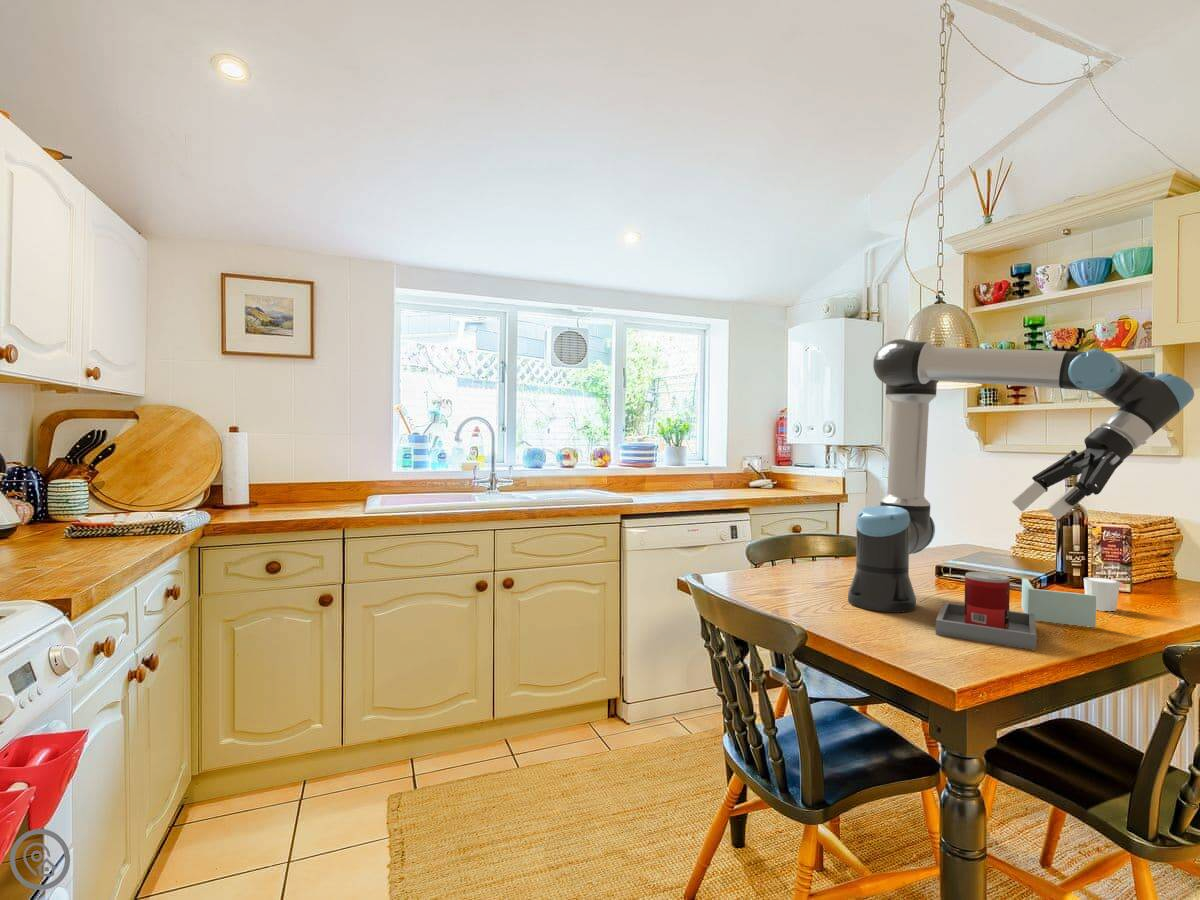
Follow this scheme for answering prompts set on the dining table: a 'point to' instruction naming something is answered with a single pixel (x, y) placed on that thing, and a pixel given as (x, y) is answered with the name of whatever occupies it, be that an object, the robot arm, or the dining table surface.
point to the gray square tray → (987, 628)
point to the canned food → (987, 599)
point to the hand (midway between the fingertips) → (1033, 510)
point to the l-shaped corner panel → (1059, 606)
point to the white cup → (1103, 592)
